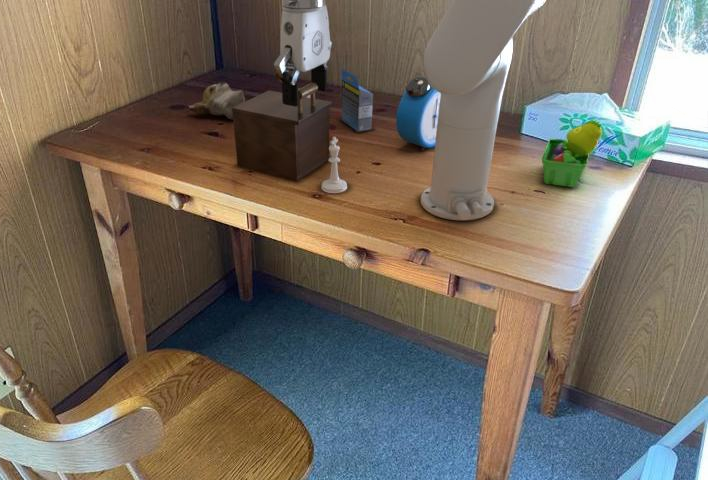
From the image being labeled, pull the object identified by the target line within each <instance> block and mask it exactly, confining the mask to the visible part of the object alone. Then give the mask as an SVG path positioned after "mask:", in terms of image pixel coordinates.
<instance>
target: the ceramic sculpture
mask: <svg viewBox="0 0 708 480" xmlns="http://www.w3.org/2000/svg"><path fill="white" fill-rule="evenodd" d="M244 102H246V98H245V94H244V92H243V90H242V89H240V90H237V91H236V90H232V89H231V88H230V85H229V84H228V83H227V82H225V81H222V80H217V81H216V83H214V84H211V85H208V86H207V87H206V88H205V89H204V91H203V94H202V101H200V102H195V103H193V104H190V105H189V104H188V105H185V107H186V108H187V109H188V110H189V111H191V112H193V113H196V114H198V115H205V114H206V115H207V114H210V115H212V116H225V117H226V118H227V119H228V120H233V112H232V108H233V107H235V106H237V105H239V104H241V103H244Z"/></svg>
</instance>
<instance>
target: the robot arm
mask: <svg viewBox="0 0 708 480" xmlns="http://www.w3.org/2000/svg"><path fill="white" fill-rule="evenodd" d="M546 1H547V0H451V3H450V4H449V6H448V7H447V10H446V11H445V13H444V15H443V16H442V18H441V19H440V21H439V23H438V24H437V27H436V28H435V30H434V32H433V33H432V35H431V37H430V39H429V41H428V43H427V45H426V47H425V50H424V53H423V60H422V68H423V72H424V77H426V79H427V81H428V82H429V84H430V85H431V86H432V87H433V88H434V89H435V90H436V91H438V92H440V93H441V98H440V105H439V114H438V122H437V132H436V142H435V146H434V153H433V163H432V172H431V183H430V186H429V187H427V188H426V189H424V190H423V191H422V193H421V196H420V204H421V206H422V208H423V209H424V210H425V212H428V213H429V214H431V215H433V216H435V217H439V218H442V219H445V220H450V221H473V220H478V219H481V218H484V217H486V216H488V215H489V214H490V213H492V212H493V210H494V207H495V206H494V205H495V199H494V197H493V196H492V194H491V193H490V192H489V191H487V190H488V185H489V179H490V172H491V166H492V160H493V154H494V147H495V140H496V136H497V135H496V134H497V129H498V122H499V118H500V111H501V106H502V100H503V95H504V91H505V87H506V86H505V85H506V82H507V78H508V75H509V70H510V66H511V62H512V58H513V51H514V38H513V37H514V35H515V34H516V33H517V32H518V30H519V29H520V27H521V26H522V24H523V23H524V22H525V20H526V19H528V18H529V17H530V16H532V15H533V14H534V13H536V12H537V11H538V10H539V9H540V8H541V7H542V6H543V5H544V4H545V3H546ZM281 9H282V11H281V20H280V33H279V34H280V38H279V39H280V40H279V48H280V50H279V53H280V54H279V56H278V57H277V58H276V59H275V60H274V63H273V67H274V70H275V72H276V77H277V78H278V79H279V83H280V84H281V93H282V101H283V104H285V105H290V106H295V107H296V106H298V105H299V99H298V89H299V84H298V83H297V81H298V78H299V75H300V73H306V72H309V71H310V83H313V82H314V83H316V84H317V86H318V90H317V92H318V91H320V92H326V91H327V90H328V85H327V84H328V69H329V61H330V58H331V50H332V46H333V41H332V40H331V34H330V20H329V13H328V8H327V4H326V0H281ZM290 72H292V73H291V74H290Z"/></svg>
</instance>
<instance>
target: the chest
mask: <svg viewBox="0 0 708 480" xmlns="http://www.w3.org/2000/svg"><path fill="white" fill-rule="evenodd" d="M232 123H233V133H234V143H235V155H236V164H237V167H239V168H243V169H247V170H251V171H254V172H259V173H262V174H265V175H270V176H273V177H277V178H281V179H285V180H289V181H293V182H299V181H300V180H302V179H303V178H305V177H306V176H308V175H309V174H310V173H312V172H313V171H315V170H316V169H318V168H319V167H321V166H322V165H324V164H326V163H327V162H329V158H330V156H331V154H330V151H329V147H330V146H331V144H330V142H331V141H330V140H331V139H330V133H331V132H330V108H328V109H327V110H325V111H323V112H321V113H320V114H318V115H316V116H314V117H313V118H311V119H309V120H307V121H306V122H304V123H302V124H300V125H299V126H298V125H293V124H289V123H284V122H279V121H274V120H269V119H265V118H260V117H255V116H250V115H246V114H241V113H236V112H233V119H232Z"/></svg>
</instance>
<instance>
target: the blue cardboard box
mask: <svg viewBox="0 0 708 480" xmlns="http://www.w3.org/2000/svg"><path fill="white" fill-rule="evenodd" d="M348 78H350V79H351V80H350V79H348ZM359 81H360V79H359V77H358V76H357V75H355V74H353V73H352V72H350V71H348V70H347V69H345V68H343V67H341V121H342V122H343V123H345V124H346V125H348V126H349V127H350V128H351V129H353V130H354V131H356V133H360V132H366V131H372V128H373V127H372V126H373V125H372V124H373V122H372V121H373V120H372V119H373V103H374V102H373V101H374V93H372V92H371V91H369V90H368V89H366V88H364V87H362V86H360V83H359Z"/></svg>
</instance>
